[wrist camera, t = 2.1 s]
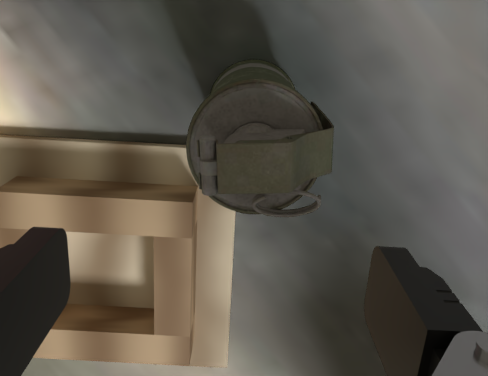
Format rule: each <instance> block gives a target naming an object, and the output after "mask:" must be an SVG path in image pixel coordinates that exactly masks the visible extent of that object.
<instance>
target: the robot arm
mask: <svg viewBox="0 0 488 376" xmlns="http://www.w3.org/2000/svg"><path fill="white" fill-rule="evenodd" d="M70 287H71V281H70V267H69V254H68V241H67V234H66V231H65V230H64V229H63V228H49V227H32V228H30V229H29V230H28V231H27V232H26V233H25V234H24V235H23V236H22V237H21V238H20V239H19V240H18V241H17V242H15V243H14V244H8V245H6V246H4V247H2V248H0V376H21V375H22V373H23V372H24V370H25V369H26V367H27V365H28V364H29V362H30V361H31V359H32V358H33V356H34V355H35V353H36V351H37V350H38V348H39V347H40V345H41V344H42V342H43V341H44V339H45V337H46V336H47V334H48V333H49V331H50V330H51V328H52V327H53V325H54V324H55V322H56V320H57V319H58V317H59V316H60V314H61V313H62V311H63V310H64V308H65V306H66V304H67V302H68V299H69V294H70ZM364 312H365V320H366V323H367V326H368V329H369V331H370V334H371V336H372V339H373V341H374V344H375V346H376V349H377V351H378V354H379V356H380V359H381V361H382V364H383V366H384V369H385V371H386V374H387V376H488V333H486V332H483V331H482V330H481V328H480V327H479V326H478V324H477V323H476V322H475V321H474V319H473V318H472V317H471V315H470V314H469V313H468V311H467V310H466V309H465V307H464V306H463V305H462V304H460V303H459V300H458V298H457V297H456V296H455V294H454V293H452V290H451V289H450V288H449V287H448V285H447V284H446V283H445V281H444V280H443V279H442V278H441V277H439V276H438V275H436V274H435V273H434V272H432V271H431V270H429V269H428V268H425V267H419V265H418V264H417V263H416V261H415V260H414V258H413V257H412V256H411V254H410V253H409V251H408V250H407V249H406V248H398V247H380V246H376V247H375V248H374V250H373V254H372V259H371V265H370V271H369V277H368V283H367V289H366V295H365V302H364Z"/></svg>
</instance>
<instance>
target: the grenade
mask: <svg viewBox="0 0 488 376" xmlns="http://www.w3.org/2000/svg"><path fill="white" fill-rule="evenodd" d="M333 131H334V126H333V125H332V123H331V122H330V120H329V119H328V118H327V117H326V116H325V114H324V113H323V112H322V111H321V110H320V109H319V108H318V106H317V105H316V104H315V103H313V102H311V104H310V103H309V102H308V101H307V100H306V99H305V98H304V97H303V96H302V95H301V94H300V93H298V92H297V91H296V90H295V87H294V85H293V83H292V81H291V80H290V78H289V77H288V75H287V74H286V73H285V72H284V71H283V70H282V69H280V68H279V67H277V66H276V65H274V64H272V63H269V62H266V61H262V60H244V61H241V62H238V63H235V64H233V65H231V66H230V67H228V68H227V69H226V70H224V71H223V72H222V73H221V74H220V75H219V77H218V78H217V80H216V81H215V83H214V85H213V87H212V89H211V93H210V96H209V97H208V98H207V99H205V100H204V102H203V103H202V104H201V105H200V106H199V108H198V109H197V111H196V113H195V114H194V116H193V118H192V121H191V123H190V126H189V129H188V134H187V140H186V153H187V160H188V164H189V168H190V170H191V173H192V175H193V177H194V179H195V181H196V182H197V184H198V185H199V189H202V194H203V195H206V196H209V197H210V198H211V199H212V200H213V201H215V202H216V203H218V204H219V205H221V206H223V207H225V208H228V209H230V210H233V211H236V212H240V213H246V214H264V215H267V216H275V217H293V216H300V215H304V214H308V213H311V212H313V211H315V210H317V209H318V208H319V207H320V205H321V196H320V195H318V196H316V195H314V194H312V193H308V192H307V191H308V190H309V189H310V188H311V186H312V185H313V184H314V182H315V181H316V179H317V177H319V176H322V175H326V174H329V173H331V172H332V153H333ZM303 195H304V196H308V197H311V198H313V199H315V200H316V201H315V202H314V203H313V204H311V205H309V206H306V207H303V208H298V209H291V210H281V209H283V208H285V207H288V206H289V205H291V204H293V203H294V202H296V201H297V200H299V199H300V198H301V197H302V196H303ZM301 211H302V212H301Z"/></svg>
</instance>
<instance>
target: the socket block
mask: <svg viewBox="0 0 488 376" xmlns="http://www.w3.org/2000/svg"><path fill="white" fill-rule="evenodd" d="M235 212H236V211H233V210H230V209H228V208H225V207H223V206H221V205H219V204H218V203H216V202H215V201H213V200H212V199H211V198H210V197H209V196H206V195H203V194H202V189H199V185H198V184H197V182H196V181H195V179H194V177H193V175H192V173H191V170H190V168H189V164H188V160H187V153H186V145H177V144H159V143H142V142H124V141H106V140H89V139H71V138H53V137H36V136H18V135H0V248H2V247H4V246H6V245H8V244H14V243H15V242H17V241H18V240H19V239H20V238H21V237H22V236H23V235H24V234H25V233H26V232H27V231H28V230H29V229H30V228H32V227H49V228H63V229H64V230H65V231H66V234H67V241H68V254H69V267H70V281H71V287H70V294H69V299H68V302H67V304H66V306H65V308H64V310H63V311H62V313H61V314H60V316H59V317H58V319H57V320H56V322H55V324H54V325H53V327H52V328H51V330H50V331H49V333H48V334H47V336H46V337H45V339H44V341H43V342H42V344H41V345H40V347H39V348H38V350H37V351H36V353H35V355H34V356H33V358H49V359H68V360H87V361H105V362H124V363H143V364H162V365H181V366H201V367H220V368H227V363H228V344H229V325H230V307H231V288H232V269H233V250H234V231H235Z"/></svg>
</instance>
